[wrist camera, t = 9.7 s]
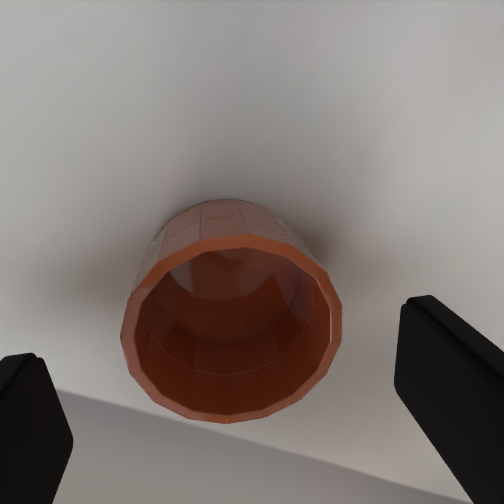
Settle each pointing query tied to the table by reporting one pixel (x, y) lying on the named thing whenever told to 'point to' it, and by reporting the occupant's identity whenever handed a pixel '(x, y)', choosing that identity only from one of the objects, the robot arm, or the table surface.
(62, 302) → the table surface
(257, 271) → the cup
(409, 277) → the table surface
